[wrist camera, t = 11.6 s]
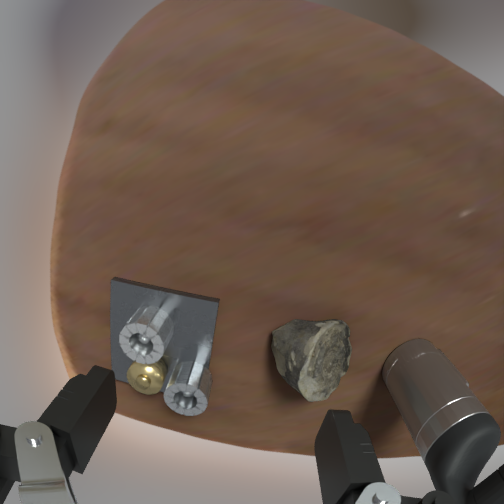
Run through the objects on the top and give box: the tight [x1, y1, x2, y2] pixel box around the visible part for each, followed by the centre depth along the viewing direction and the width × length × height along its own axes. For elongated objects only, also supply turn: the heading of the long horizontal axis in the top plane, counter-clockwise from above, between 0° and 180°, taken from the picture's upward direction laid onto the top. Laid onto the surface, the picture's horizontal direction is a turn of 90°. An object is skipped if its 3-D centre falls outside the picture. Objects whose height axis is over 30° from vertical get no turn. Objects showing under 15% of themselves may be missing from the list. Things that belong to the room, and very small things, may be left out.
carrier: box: [110, 277, 220, 397], centre depth 39 cm, size 14×16×5 cm
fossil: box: [271, 319, 352, 402], centre depth 38 cm, size 11×9×10 cm
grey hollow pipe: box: [164, 361, 212, 416], centre depth 39 cm, size 6×6×5 cm
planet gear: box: [119, 305, 174, 364], centre depth 37 cm, size 6×6×5 cm
